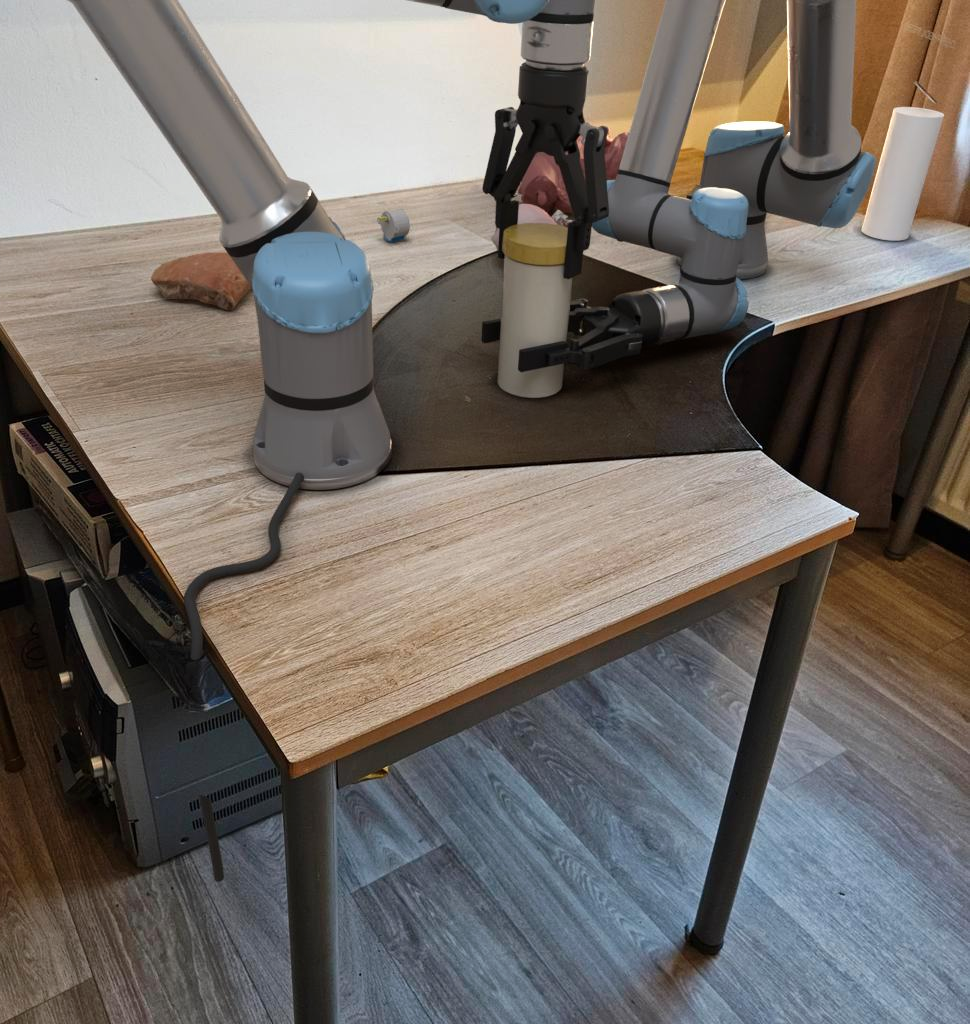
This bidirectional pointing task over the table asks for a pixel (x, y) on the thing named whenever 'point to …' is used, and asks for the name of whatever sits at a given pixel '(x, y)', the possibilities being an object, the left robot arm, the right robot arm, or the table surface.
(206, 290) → the ceramic shard
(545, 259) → the lid
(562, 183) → the reddish pink figurine
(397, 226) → the electric motor
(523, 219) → the toy
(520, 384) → the jar
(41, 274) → the table surface
